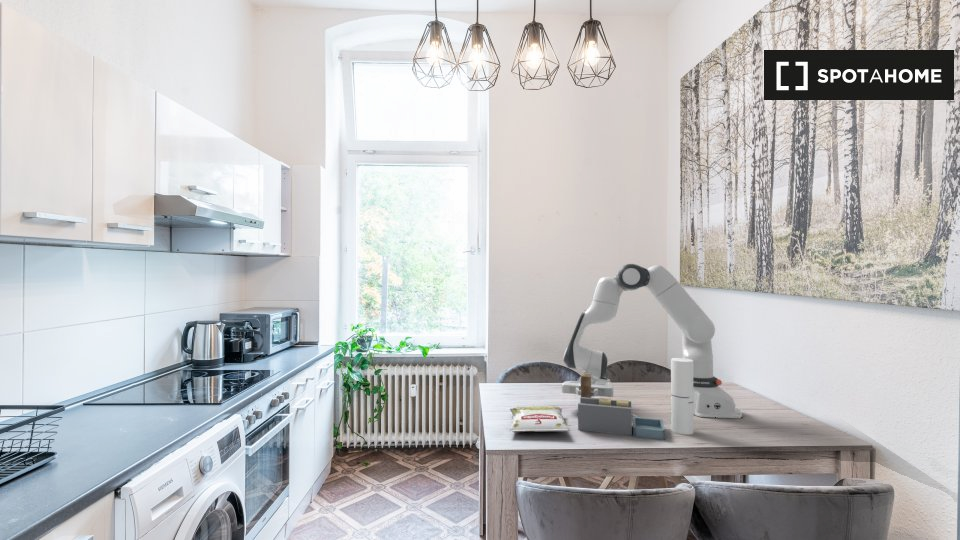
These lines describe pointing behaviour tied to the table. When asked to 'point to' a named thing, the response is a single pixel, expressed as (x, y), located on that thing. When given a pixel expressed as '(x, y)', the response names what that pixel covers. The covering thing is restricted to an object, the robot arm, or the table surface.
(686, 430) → the cylindrical container
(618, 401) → the tan wooden cube
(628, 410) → the channel
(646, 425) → the tray
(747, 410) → the table surface
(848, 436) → the table surface
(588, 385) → the tall wooden post
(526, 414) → the frozen beans
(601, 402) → the tan cube
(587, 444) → the table surface
